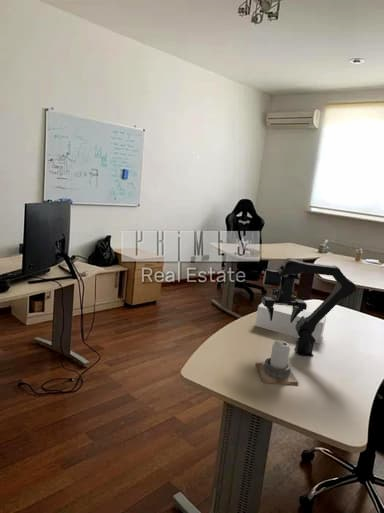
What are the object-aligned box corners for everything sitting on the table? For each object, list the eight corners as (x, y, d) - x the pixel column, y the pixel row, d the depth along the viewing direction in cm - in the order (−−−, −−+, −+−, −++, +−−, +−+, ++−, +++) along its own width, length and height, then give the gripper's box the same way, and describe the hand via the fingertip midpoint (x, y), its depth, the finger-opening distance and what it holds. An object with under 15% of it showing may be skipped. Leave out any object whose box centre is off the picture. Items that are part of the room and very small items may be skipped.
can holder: (286, 367, 155) (288, 356, 154) (298, 384, 142) (300, 373, 141) (255, 365, 153) (257, 354, 152) (264, 382, 141) (265, 371, 140)
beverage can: (288, 376, 146) (293, 347, 143) (273, 376, 144) (278, 347, 141) (280, 367, 152) (285, 339, 149) (265, 368, 150) (270, 339, 147)
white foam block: (322, 336, 192) (326, 316, 189) (319, 343, 182) (323, 322, 180) (260, 320, 205) (263, 301, 202) (254, 326, 195) (258, 306, 193)
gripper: (300, 284, 174) (295, 316, 177) (260, 280, 172) (255, 313, 175) (310, 291, 163) (303, 325, 166) (267, 287, 161) (262, 322, 164)
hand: (280, 321), depth 168 cm, fingers open, 9 cm apart
